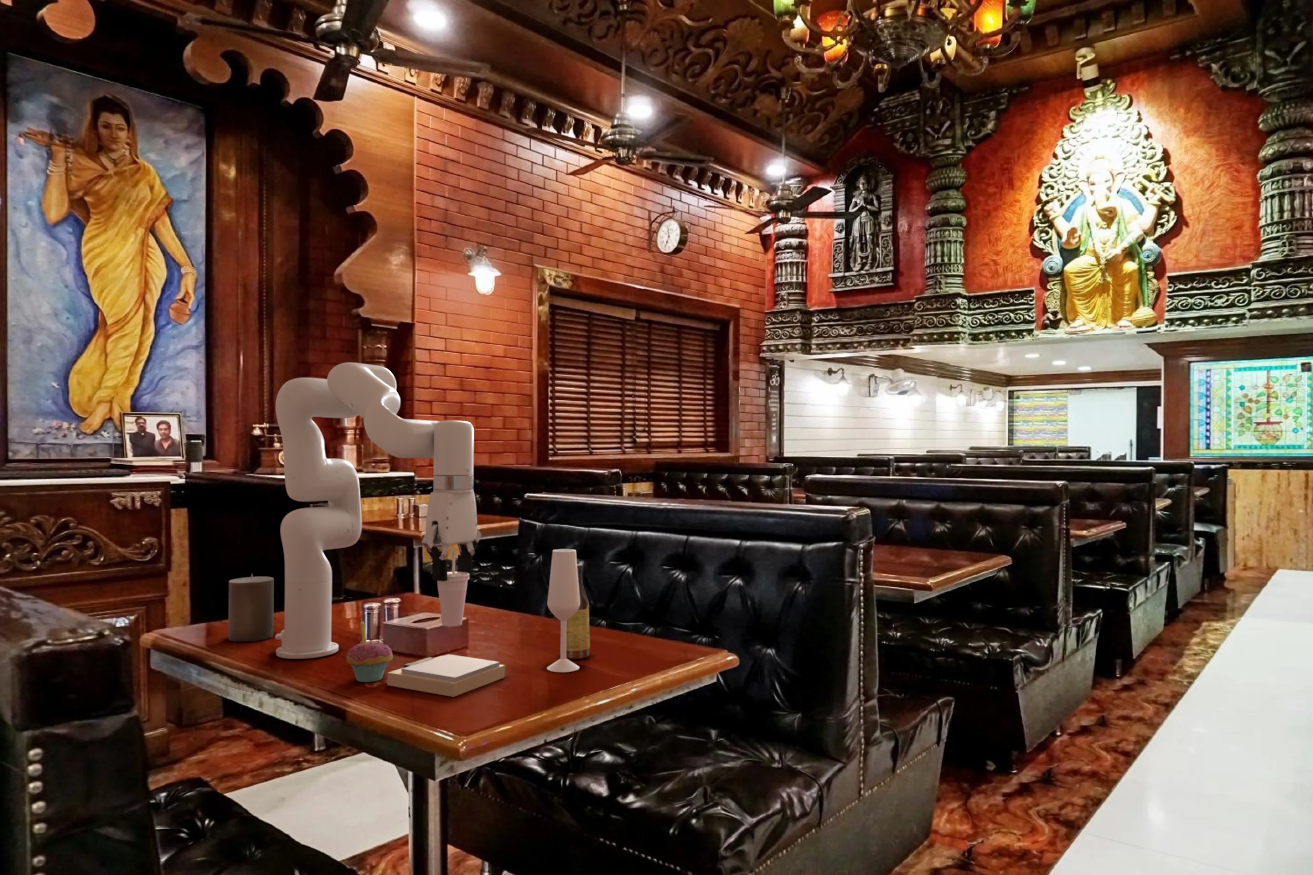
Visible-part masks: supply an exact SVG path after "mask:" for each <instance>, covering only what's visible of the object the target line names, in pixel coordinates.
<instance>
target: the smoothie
mask: <svg viewBox="0 0 1313 875" xmlns="http://www.w3.org/2000/svg"><path fill="white" fill-rule="evenodd" d="M451 552H452V556H451V558H452V559H451V565H452V566H451V568H452V569H451V571H447V580H446V581H436V582H437V591H438V600H439V610H440V619H441V626H442V627H459V626H462V625H463V620H464V612H465V605H466V596H467V588H468V583H469V582H468V581H469V580H470V579H471V578H470V576H469V573H466V572H457V571H458V570H457V571H456V550H452V551H451Z"/></svg>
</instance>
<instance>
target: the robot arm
mask: <svg viewBox="0 0 1313 875" xmlns="http://www.w3.org/2000/svg"><path fill="white" fill-rule="evenodd" d="M400 408H401V397H400V395H399V393H398V392H397V380H396V377H395V376H394V374H393V373H392V372H391V371H390V370H389V369H388V368H386V367H385V366H382V365H376V364H368V363H360V362H352V361H351V362H342V363H339V364H337V365H335V366H333V367H332V369H330V371H329V372H328V375H327V377H326V378H322V377H321V378H319V377H296V378H291V379H289V380H288V381H286V382H285V383H284V384H282V386H281V387H280V389H279V390H278V392H277V395H276V399H275V416H276V421H277V424H278V428H279V431H280V435H281V439H282V456H283V471H284V484H285V485H284V486H285V490H286V493H287V495H288V497H289V498H290V499H292V500H294V501H297V502H326V501H327V503H328V506H314V507H301V508H298V509H297V508H296V509H295V510H292V511H290V512H289V513H287V514H286V515H285V516H284V517H283V519H282V521H281V523H280V530H279V531H280V540H281V544H282V548H283V555H284V556H283V557H284V615H283V616H284V618H283V619H284V621H283V629H282V630H281V631H280V633H276V634H275V636H274V638H275V640H276V641H281V646H279V647H277V648H276V649H275V655H276V657H278V658H282V659H287V660H288V659H289V660H305V659H307V660H308V659H315V658H321V657H327V656H330V655H333V654H336V653H337V652H338V651H339V644H338V643H336V642H333V641H332V610H333V608H332V602H333V570H332V566H331V563H330V561H329V560H328V558H327V557H326V555H325V552H324V551H327V550H335V549H342V548H348V547H351V546H353V545H355V544H356V543H357V542H358V541H359V539H360V537H361V535H362V530H363V518H362V516H363V515H362V502H361V488H360V480H359V475H358V472H357V470H356V468H355V467H354V465H353V464H352V463H351V462H350V461H348V460H346V459H342V458H327V455H326V449H325V438H324V436H323V433H322V431H321V430H320V428H319V426H318V424H317V423H316V422H315V421H314V420H313V418H328V419H329V418H331V419H351V418H355V417H358V416H359V417H361V418H362V419H363V425H364V429H365V433H366V435H367V437H368V439H369V440H370V441H371V442H372V443H373V444H374V445H376V446H377V447H379V449H381V450H382V451H384V452H385V453H387V454H388V455H390V456H392V457H395V458H397V459H398V458H399V459H433V474H432V475H433V480H432V481H433V483H432V488H433V491H432V492H430V494H429V497H428V501H427V502H428V503H427V509H426V518H425V535H424V537H423V538H422V540H421V544H422V545H423V547H424V548H425V550H426V552H427V553H428V555H429V559H430V560H431V580H432V581H436V582H437V581H446V580H447V572H448V559H446V556H447V552H448V549H449V546H452V545H457V548H458V551H459V554H457V572H466V573H469V577H472V576H473V556H474V555H475V553H476V551H475V550H476V548H477V547H478V543H479V541H481V540H480V539H482V533H481V531H480V530H479V528H478V516H477V515H478V513H477V502H476V496H475V491H474V482H475V480H474V464H475V463H474V461H475V460H474V458H475V456H474V454H475V453H474V448H475V441H474V440H475V435H474V434H475V428H474V425H473V424H472V423H471V422H469V421H466V420H429V419H428V420H426V419H412V418H410V419H409V418H402V417H400V416H398V415H397V414H398V412H399V410H400ZM439 549H440V550H439Z"/></svg>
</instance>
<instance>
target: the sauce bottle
mask: <svg viewBox="0 0 1313 875" xmlns="http://www.w3.org/2000/svg"><path fill="white" fill-rule="evenodd" d="M577 571H578V583H579V595H580V606H579V608H578V610H577V611H576V613H575V614H574V615H573V616H572V617H571V618H569V619H568V620H567V623H566V659H568V660H581V659H586V658H588V657H589V656H590V648H591V638H590V637H591V636H590V634H591V633H590V600H589V598H588V595H587V593H586V589H585V586H584V583H583V582H584V581H583V572H584V565H583V564H582V563H577ZM559 621H560V622H559V623H560V624H561V620H559Z"/></svg>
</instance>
